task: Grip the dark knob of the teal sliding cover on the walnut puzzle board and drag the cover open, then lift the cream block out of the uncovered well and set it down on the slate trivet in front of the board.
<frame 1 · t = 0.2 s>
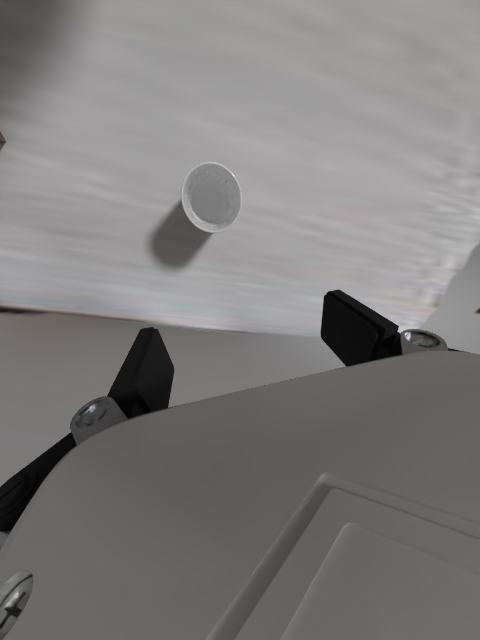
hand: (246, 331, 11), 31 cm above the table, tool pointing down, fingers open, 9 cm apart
white cup: (210, 201, 34), on the table
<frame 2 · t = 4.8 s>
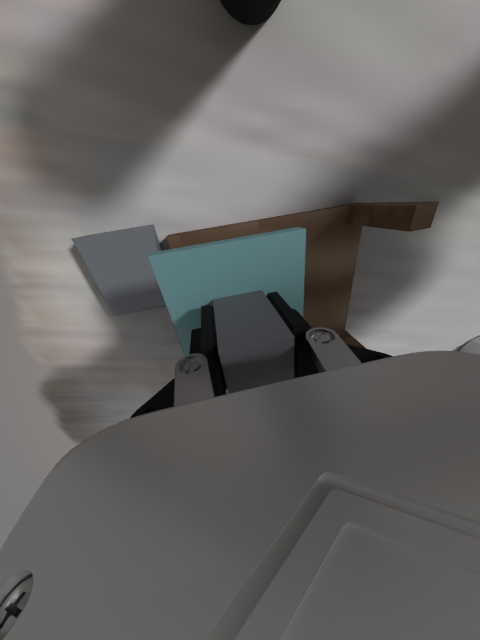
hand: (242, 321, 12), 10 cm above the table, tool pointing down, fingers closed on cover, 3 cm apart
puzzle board: (279, 290, 22), on the table
cover: (251, 364, 12), point 11 cm above the table, slide at 0.0 cm, touching gripper
white cup: (472, 349, 34), on the table
trivet: (134, 270, 19), on the table
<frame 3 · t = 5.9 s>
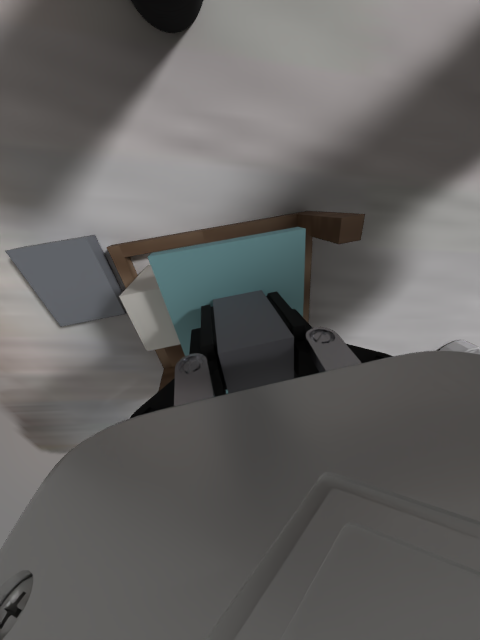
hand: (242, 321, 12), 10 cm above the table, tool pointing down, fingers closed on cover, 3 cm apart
block: (178, 283, 20), resting in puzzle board
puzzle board: (236, 299, 22), on the table
cover: (251, 364, 12), point 11 cm above the table, slide at 4.9 cm, touching gripper
white cup: (446, 354, 34), on the table
trivet: (81, 280, 18), on the table
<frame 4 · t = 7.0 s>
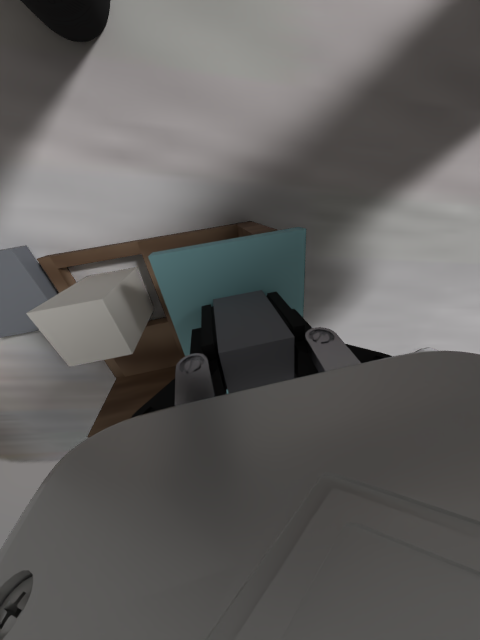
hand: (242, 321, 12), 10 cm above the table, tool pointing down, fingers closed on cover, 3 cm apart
block: (123, 293, 20), resting in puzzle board
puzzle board: (186, 309, 21), on the table
cover: (251, 364, 12), point 11 cm above the table, slide at 10.5 cm, touching gripper
trivet: (18, 291, 18), on the table
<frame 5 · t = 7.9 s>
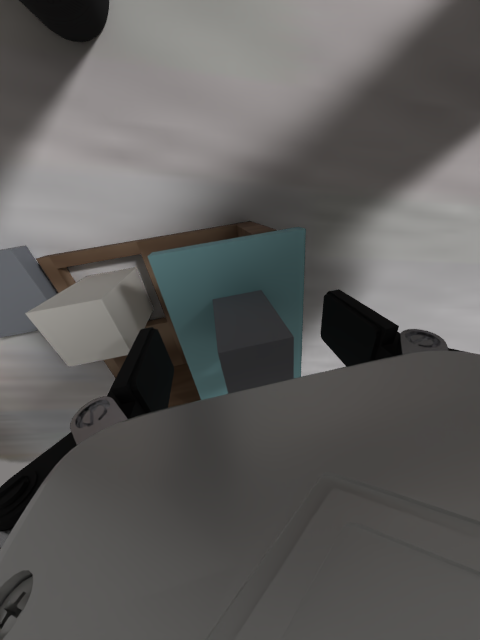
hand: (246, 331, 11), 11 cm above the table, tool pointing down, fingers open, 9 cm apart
block: (122, 293, 20), resting in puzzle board
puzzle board: (186, 309, 21), on the table
cover: (250, 364, 12), point 11 cm above the table, slide at 10.5 cm
trivet: (17, 291, 18), on the table
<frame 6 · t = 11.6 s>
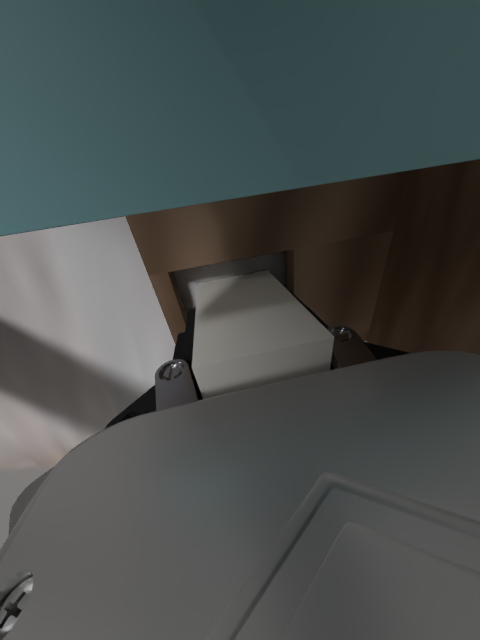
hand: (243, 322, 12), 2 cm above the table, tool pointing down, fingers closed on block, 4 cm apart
block: (238, 307, 14), resting in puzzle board, touching gripper
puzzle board: (276, 209, 11), on the table
when the fingers open (5 cm above the table, at t = 15.9 s): block drops 1 cm, resting on trivet.
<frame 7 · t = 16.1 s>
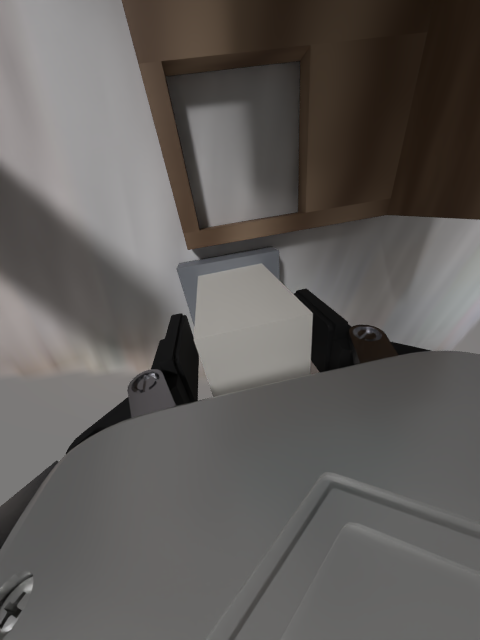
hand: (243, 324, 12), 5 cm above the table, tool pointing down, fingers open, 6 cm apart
block: (235, 298, 15), point 1 cm above the table, touching trivet
trivet: (232, 292, 16), on the table
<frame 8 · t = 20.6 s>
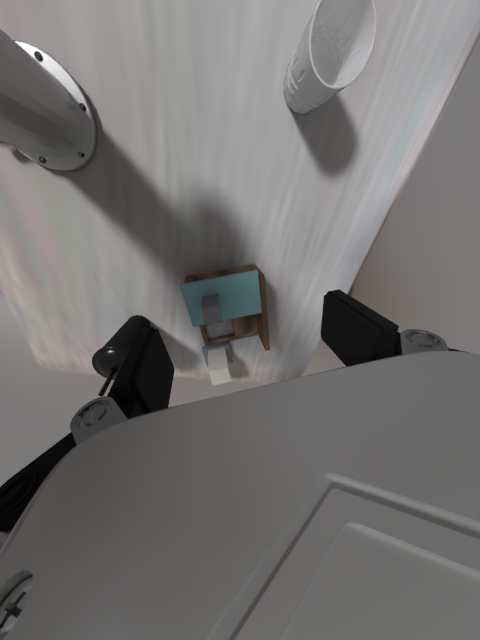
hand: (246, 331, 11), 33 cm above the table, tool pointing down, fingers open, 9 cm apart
block: (218, 355, 52), point 1 cm above the table, touching trivet
drinking cup: (139, 323, 46), on the table
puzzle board: (226, 303, 47), on the table
cover: (225, 304, 35), point 11 cm above the table, slide at 10.5 cm
white cup: (303, 85, 31), on the table
trivet: (217, 352, 54), on the table
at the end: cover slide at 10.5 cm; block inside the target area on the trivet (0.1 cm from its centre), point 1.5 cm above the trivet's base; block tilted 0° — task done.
